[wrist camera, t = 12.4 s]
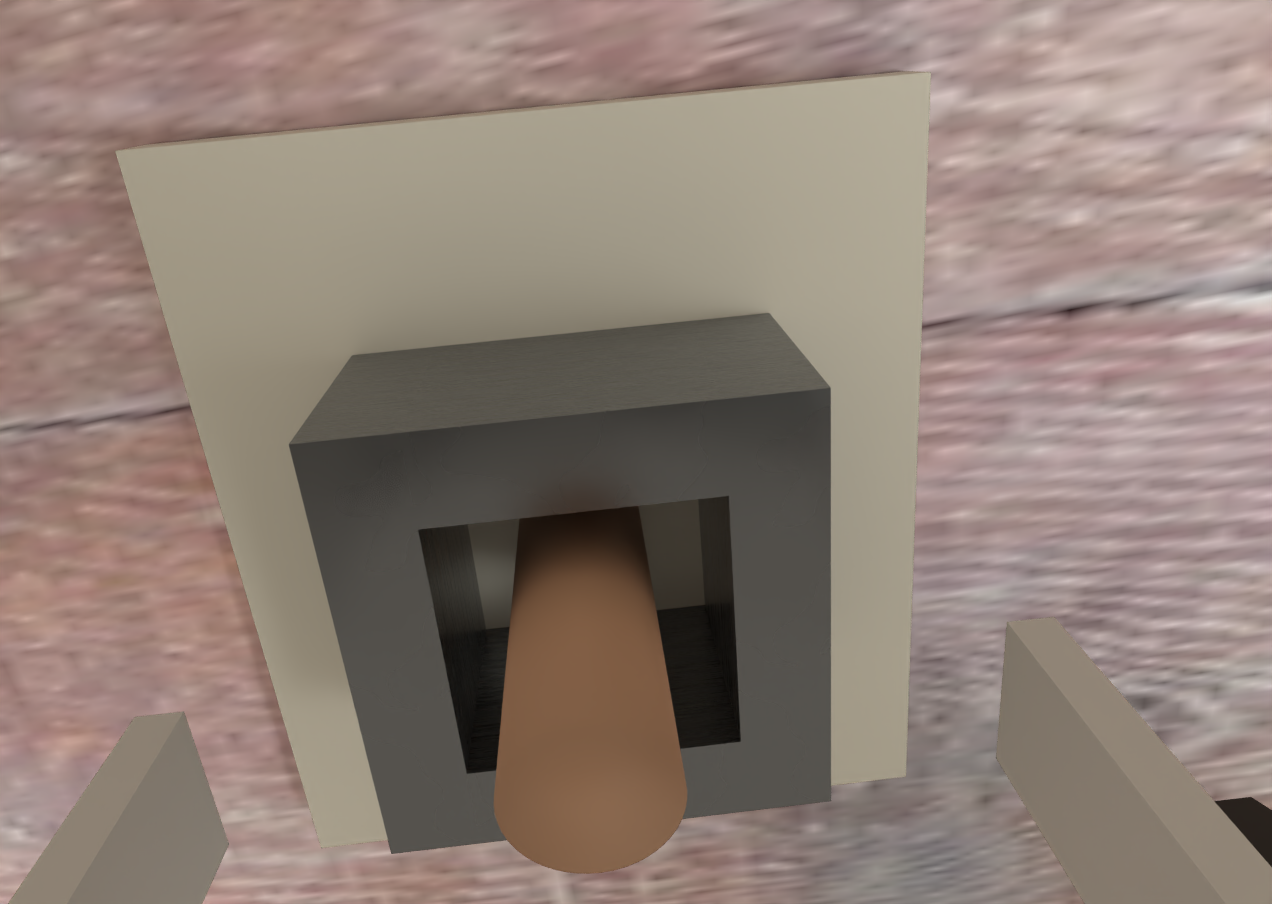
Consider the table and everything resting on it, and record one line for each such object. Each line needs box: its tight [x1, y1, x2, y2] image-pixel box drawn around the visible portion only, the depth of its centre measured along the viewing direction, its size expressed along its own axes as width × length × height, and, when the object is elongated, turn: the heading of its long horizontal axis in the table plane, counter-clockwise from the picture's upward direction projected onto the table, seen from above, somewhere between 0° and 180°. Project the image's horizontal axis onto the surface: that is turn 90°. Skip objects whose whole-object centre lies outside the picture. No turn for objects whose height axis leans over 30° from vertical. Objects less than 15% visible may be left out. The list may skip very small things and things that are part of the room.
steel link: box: [289, 313, 831, 854], centre depth 19 cm, size 9×9×5 cm
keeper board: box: [115, 71, 931, 874], centre depth 18 cm, size 16×18×10 cm
